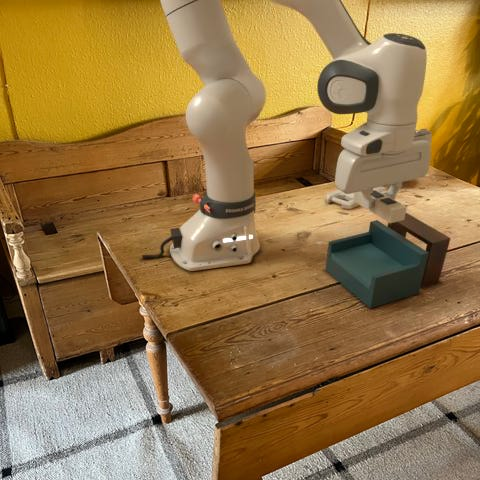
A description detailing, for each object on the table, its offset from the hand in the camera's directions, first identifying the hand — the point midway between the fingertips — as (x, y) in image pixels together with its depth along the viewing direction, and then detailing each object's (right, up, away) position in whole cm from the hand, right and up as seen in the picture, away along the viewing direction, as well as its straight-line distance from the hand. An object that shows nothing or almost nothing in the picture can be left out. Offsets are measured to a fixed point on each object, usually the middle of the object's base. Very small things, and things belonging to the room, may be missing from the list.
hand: (378, 205), depth 100 cm
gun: (+6, +13, +48) cm, 50 cm away
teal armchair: (+2, -14, +12) cm, 19 cm away
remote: (0, -1, +1) cm, 1 cm away
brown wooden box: (+11, -11, +16) cm, 23 cm away
